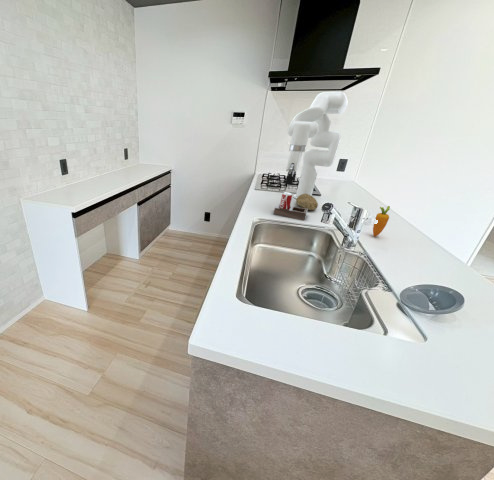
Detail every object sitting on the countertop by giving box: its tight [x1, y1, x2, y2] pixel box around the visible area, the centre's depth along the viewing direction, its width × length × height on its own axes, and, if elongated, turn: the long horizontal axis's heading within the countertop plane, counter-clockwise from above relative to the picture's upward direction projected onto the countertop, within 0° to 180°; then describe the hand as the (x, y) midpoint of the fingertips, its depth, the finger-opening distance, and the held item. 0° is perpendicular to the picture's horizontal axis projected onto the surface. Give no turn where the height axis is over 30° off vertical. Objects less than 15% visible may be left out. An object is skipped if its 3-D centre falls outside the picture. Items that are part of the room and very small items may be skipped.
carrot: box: [372, 205, 391, 237], centre depth 118 cm, size 5×5×15 cm
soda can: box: [279, 191, 293, 209], centre depth 144 cm, size 5×5×12 cm
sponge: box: [295, 194, 319, 211], centre depth 157 cm, size 13×8×20 cm
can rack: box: [273, 203, 309, 221], centre depth 144 cm, size 9×16×4 cm, turn 59°
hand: (289, 182), depth 139 cm, fingers open, 9 cm apart
